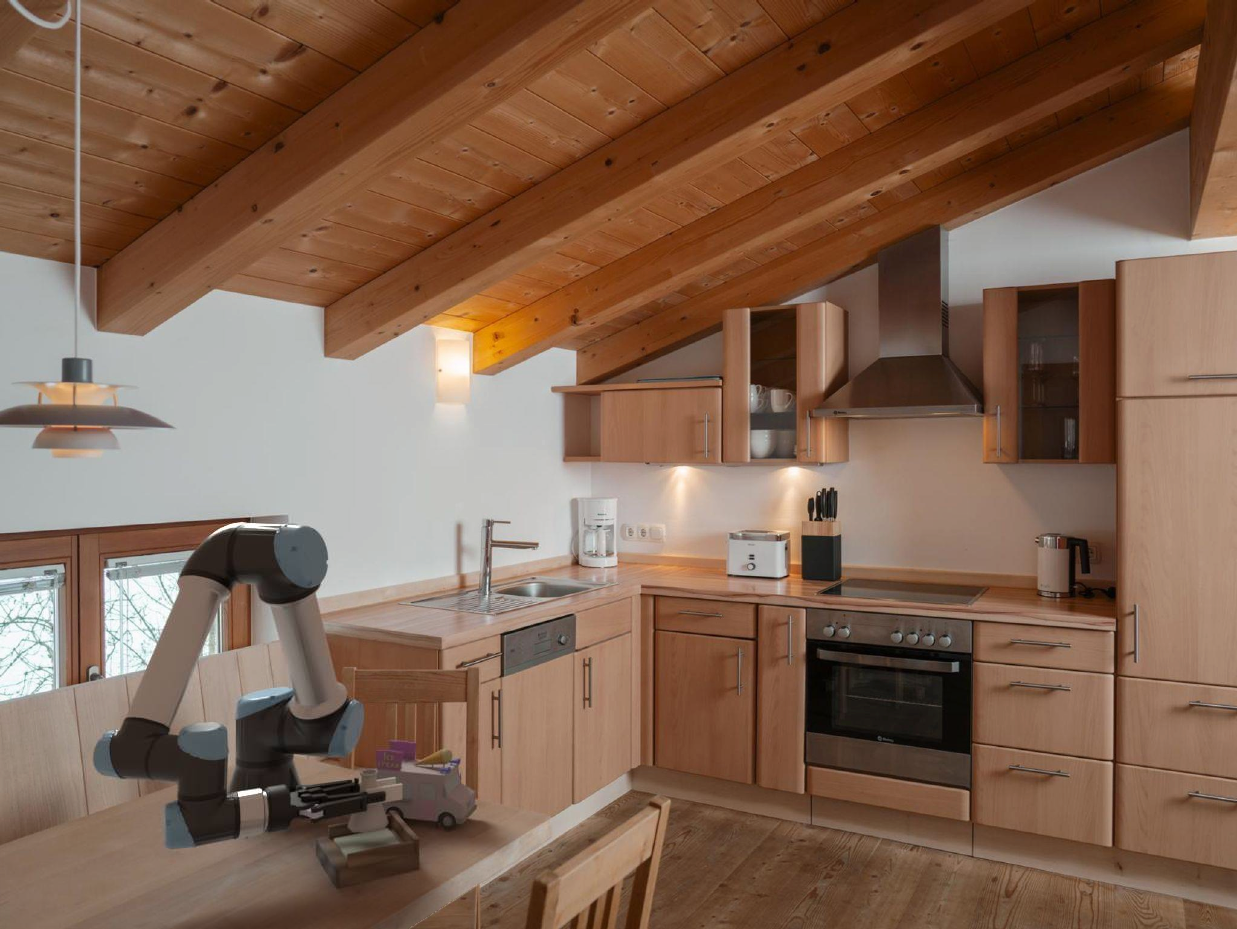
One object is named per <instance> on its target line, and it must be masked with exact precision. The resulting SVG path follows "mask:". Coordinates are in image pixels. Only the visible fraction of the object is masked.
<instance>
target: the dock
mask: <svg viewBox="0 0 1237 929" xmlns="http://www.w3.org/2000/svg"><path fill="white" fill-rule="evenodd" d="M386 817H387V819H388V822H389V823H388V825H387V826H386V827H385V829H383V830H378V831H374V832H369V833H364V832H352V831H351V830H350V829H349V828H348V827H347V826H348V823H349V821H344V822H339V823H334V824H329V825H327V836H321V837H316V838H315V856H316V857H317V859H318V861H319V863H320V864H321V866H322V868H323V869H324V871H325V872H326V874H327V876H328V877H329V879H330V881H331V882H332V885H333V886H334V887H335V889H338V888H342V887H343V888H344V887H349V886H353V885H356V884H360V883H366V882H370V881H374V880H379V879H383V878H388V877H392V876H396V875H400V874H405V873H409V872H414V871H419V870H420V840H421V839H420V838H419V836H418V835H417V834H416V833H415V832H414V831H413V830H412V829H411V828H410V826H409V825H408V824H407V823H406V822H405V821H404V820H402V819H401V818H400V816H399V815H398V814H397V813H396V812H395V811H394V810H393V811H389V814H386Z"/></svg>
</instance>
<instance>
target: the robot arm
mask: <svg viewBox="0 0 1237 929" xmlns="http://www.w3.org/2000/svg"><path fill="white" fill-rule="evenodd" d="M328 560H329V553H328V548H327V544H326V542H325V539H324V538H323V536H322V535H321V533H320V532H319V531H318V530H316V529H315V528H313V527H311V526H309V525H302V524H301V525H300V524H296V523H285V524H283V523H282V524H280V523H278V524H277V523H248V522H236V523H231V524H228V525H226V526H224V527H221V528H219V529H218V530H215V531H214V532H213V533H211V534H210V535H209V536H207V537H206V538H205V539H204V540H203V541H202V542H201V543H200V544H199V545H198V546H197V547H196V549H194V551H193V552H192V554H191V555H190V556H189V557H188V559H187V560H186V562H185V563H184V565H183V567H182V569H181V571H180V574H179V576H178V578H177V580H176V585H177V586H178V588H179V592H178V593H177V595H176V598H175V601H174V602H173V605H172V608H171V610H170V612H169V615H168V617H167V618H166V622H165V624H164V626H163V628H162V631H161V633H160V636H159V638H158V640H157V642H156V644H155V648H154V650H153V653H152V655H151V657H150V659H149V661H148V664H147V665H146V668H145V671H144V674H143V675H142V677H141V680H140V683H139V685H138V687H137V690H136V692H135V694H134V697H133V698H132V701H131V704H130V706H129V709H128V711H127V713H126V715H125V718H124V719H123V722H122V724H121V726H120V729H115V730H109V731H107V732H105V733H104V734H102V737H101V738H99V739H98V740H97V743H96V744H95V746H94V748H93V749H94V750H93V754H92V763H93V767H94V769H95V771H96V772H97V773H99V774H100V775H101V776H105V777H112V778H116V779H120V780H138V781H139V780H141V781H143V780H144V781H154V782H163V783H175V784H176V785H177V791H176V792H177V795H176V799H175V800H173V801H170V802H167V803H165V805H164V806H163V811H162V812H163V814H162V840H163V844H164V846H165V848H166V849H168V850H179V849H187V848H188V849H189V848H197V847H201V846H206V845H211V844H216V843H220V842H221V843H222V842H227V841H231V840H237V839H242V840H244V841H246V840H249V837H254V836H259V835H262V834H264V831H265V833H268V834H272V833H277V832H283V831H284V832H285V831H288V829H289V828H290V826H291V822H292V820H294V819H295V820H296V819H297V820H298V819H300V820H301V819H302V820H309V819H310V824H317V823H319V822H322V821H325V820H330V819H334V818H338V817H344V816H347V815H352V814H354V813H359V812H365V811H367V805H373V804H378V803H384V802H390V801H396V800H401V799H402V787H403V784H402V783H400V784H396V778H395V777H392V778H385V779H379V780H377V787H376V788H370V789H366V792H360V788H361V782H359V781H360V778H359V777H355V778H353V779H346V780H345V779H343V780H338V781H330V782H322V783H313V784H302V782H301V779H300V778H301V777H300V775H299V773H298V770H297V767H296V763H295V758H294V756H295V755H298V756H309V757H322V758H328V759H329V758H330V759H331V758H344V757H347V756H348V755H350V754H351V753H352V752H353V751H354V749H355V748H356V746H357V744H358V742H359V740H360V737H361V734H362V730H363V726H364V720H365V719H364V718H365V713H364V712H365V709H364V705H363V703H362V702H361V701H359V700H357V699H353V700H351V699H350V698H349V697H350V696H349V694H348V690H347V687H346V686H345V685H344V684H342V683H341V682H339V681H338V680H337V676H336V672H335V668H334V665H333V663H334V662H333V660H332V657H331V656H332V655H331V652H330V648H329V643H328V639H327V636H326V630H325V627H324V622H323V618H322V615H321V610H320V606H319V602H318V598H317V591H319V589H320V588H321V586H322V582H323V581H324V580H325V578H326V575H327V572H328V568H329V565H328V563H327V562H328ZM239 584H240V585H252V586H255V587H256V592H257V595H258V597H259V600H260V601H261V602H262V603H263V604H265V605H268V606H270V610H271V613H272V617H273V620H274V623H275V627H276V632H277V636H278V638H279V640H278V641H279V642H280V646H281V647H280V648H281V650H282V654H283V657H284V661H285V665H286V669H287V673H288V677H289V680H290V684H291V686H280V687H271V688H265V689H260V690H256V691H253V692H250V693H248V694H245V695H243V696H242V697H240V698H239V699H238V701H237V703H236V709H235V710H236V711H235V717H234V721H235V760H234V761H235V764H234V769H233V773H232V775H231V778H230V780H229V784H228V768H229V767H228V766H229V765H228V761H229V753H230V749H229V739H228V729H227V727H226V726H225V725H224V724H222V723H219V722H213V721H208V722H196V723H191V724H187V725H185V726H183V727H182V728H181V729H180V730H179V731H178V734H170V732H171V729H172V726H173V723H174V721H175V719H176V716H177V715H178V714H177V713H178V712H179V711H178V710H179V709H180V706H181V704H182V701H183V698H184V696H185V693H186V691H187V689H188V686H189V685H190V681H191V679H192V676H193V674H194V672H195V669H196V666H197V664H198V661H199V659H200V656H201V654H202V651H203V649H204V646H205V644H206V642H207V639H208V636H209V634H210V631H211V629H212V627H213V624H214V621H215V618H216V616H217V614H218V612H219V609H220V607H221V604H222V602H224V601H226V600H228V599H229V598H230V597H231V595H232V594H231V593H232V591H233V589H234V588H235V587H236V586H237V585H239Z"/></svg>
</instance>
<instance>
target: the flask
mask: <svg viewBox="0 0 1237 929" xmlns="http://www.w3.org/2000/svg"><path fill="white" fill-rule="evenodd" d="M359 774H360V776H361V782H360V783H361V788H360V792H366V789H370V788H376V787H377V774H378V770H377V769H375V768H364V769H361V771H360V772H359ZM350 815H351V816H350V818H349V821H348V822H349V823H348V826H347V827H348V828H349V829H350V830H351V831H352V832H364V833H369V832H374V831H378V830H383V829H385V827H386V826H387V825H388V823H389V822H388V819H387V817H386V814H385V811H384V808H383V806H382V803H378V804H373V805H367V811H365V812H359V813H354V814H350Z"/></svg>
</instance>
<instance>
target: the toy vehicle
mask: <svg viewBox="0 0 1237 929" xmlns="http://www.w3.org/2000/svg"><path fill="white" fill-rule="evenodd" d="M417 744H418V743H417V742H410V741H406V740H393V739H390V740H389V747H390V750H388V749H383V750H381V749H375V761H376V764H375V765H376V767H374V769H377V770H378V774H377V780H379V779H385V778H392V777H395V778H396V784H400V783H402V784H403V787H402V799H401V800H396V801H390V802H384V803H382V806H383V808H384V811H385V814H389V811H393V810H394V811H395V812H396V813H397V814H398V815H399V816H400V818H401V819H402V820H403V821H404V820H405V819H410V820H419V821H420V820H421V821H429V822H431V821H432V822H438V824H439V827H440V828H441V829H442V830H444V831H452V830H453V829H455V828H456V826H457V825H463V824H464V823H465V822H466V821H467V819H468V818H470V816H472V814H473V813H475V812H476V810H477V809H478V805H477V804H476V791H475V790H473V789H472V788H470V787H469V786H467V785H465V784H464V783H462V773H460V771H459V770H460V766H459V765H460V763H461V758H456V759H453V753H452V750H451V749H448V748H441V749H440V750H438V751H436V752H434V753H432V754H430V755H428V756H426V757H425V758H423V759H416V751H417Z"/></svg>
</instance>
